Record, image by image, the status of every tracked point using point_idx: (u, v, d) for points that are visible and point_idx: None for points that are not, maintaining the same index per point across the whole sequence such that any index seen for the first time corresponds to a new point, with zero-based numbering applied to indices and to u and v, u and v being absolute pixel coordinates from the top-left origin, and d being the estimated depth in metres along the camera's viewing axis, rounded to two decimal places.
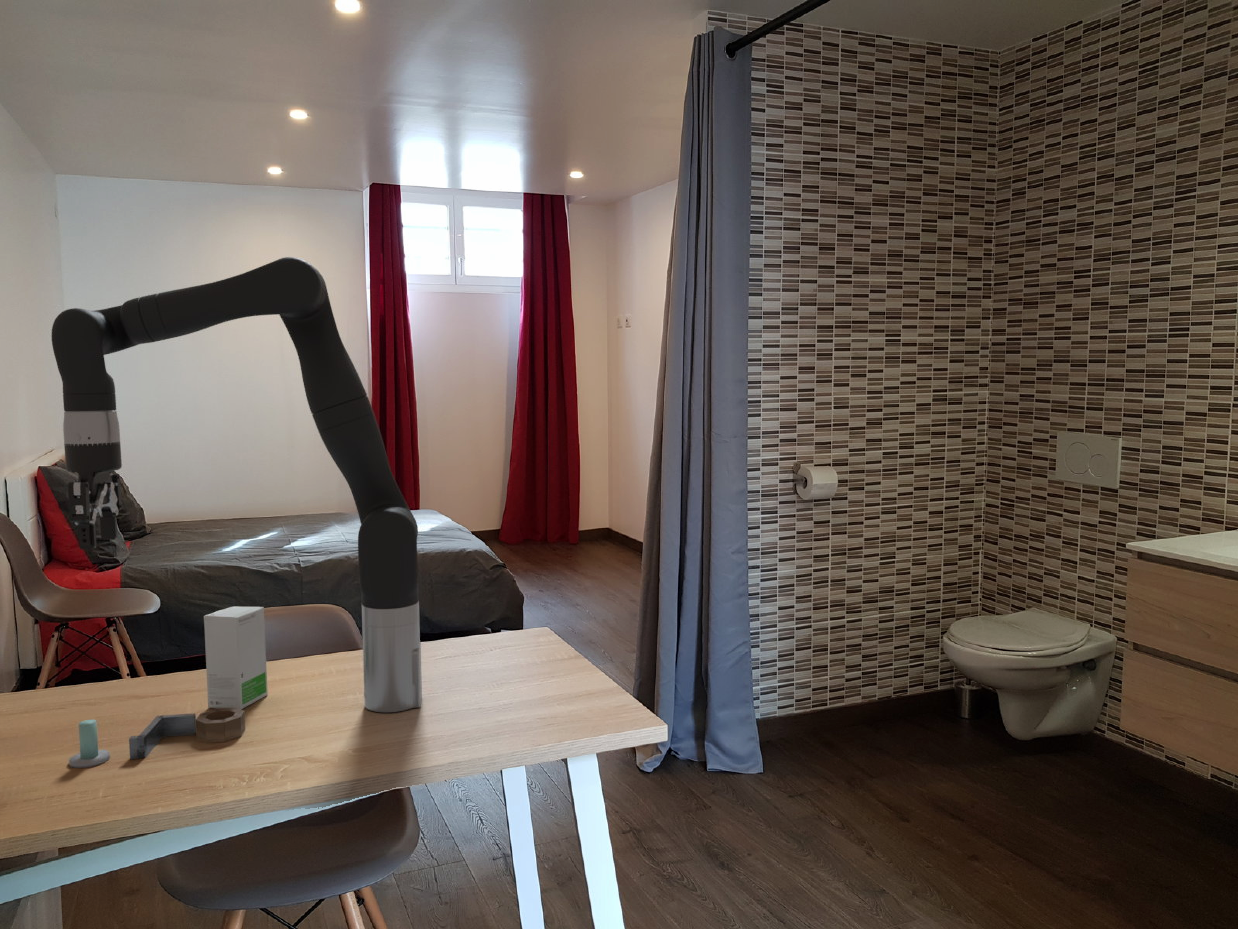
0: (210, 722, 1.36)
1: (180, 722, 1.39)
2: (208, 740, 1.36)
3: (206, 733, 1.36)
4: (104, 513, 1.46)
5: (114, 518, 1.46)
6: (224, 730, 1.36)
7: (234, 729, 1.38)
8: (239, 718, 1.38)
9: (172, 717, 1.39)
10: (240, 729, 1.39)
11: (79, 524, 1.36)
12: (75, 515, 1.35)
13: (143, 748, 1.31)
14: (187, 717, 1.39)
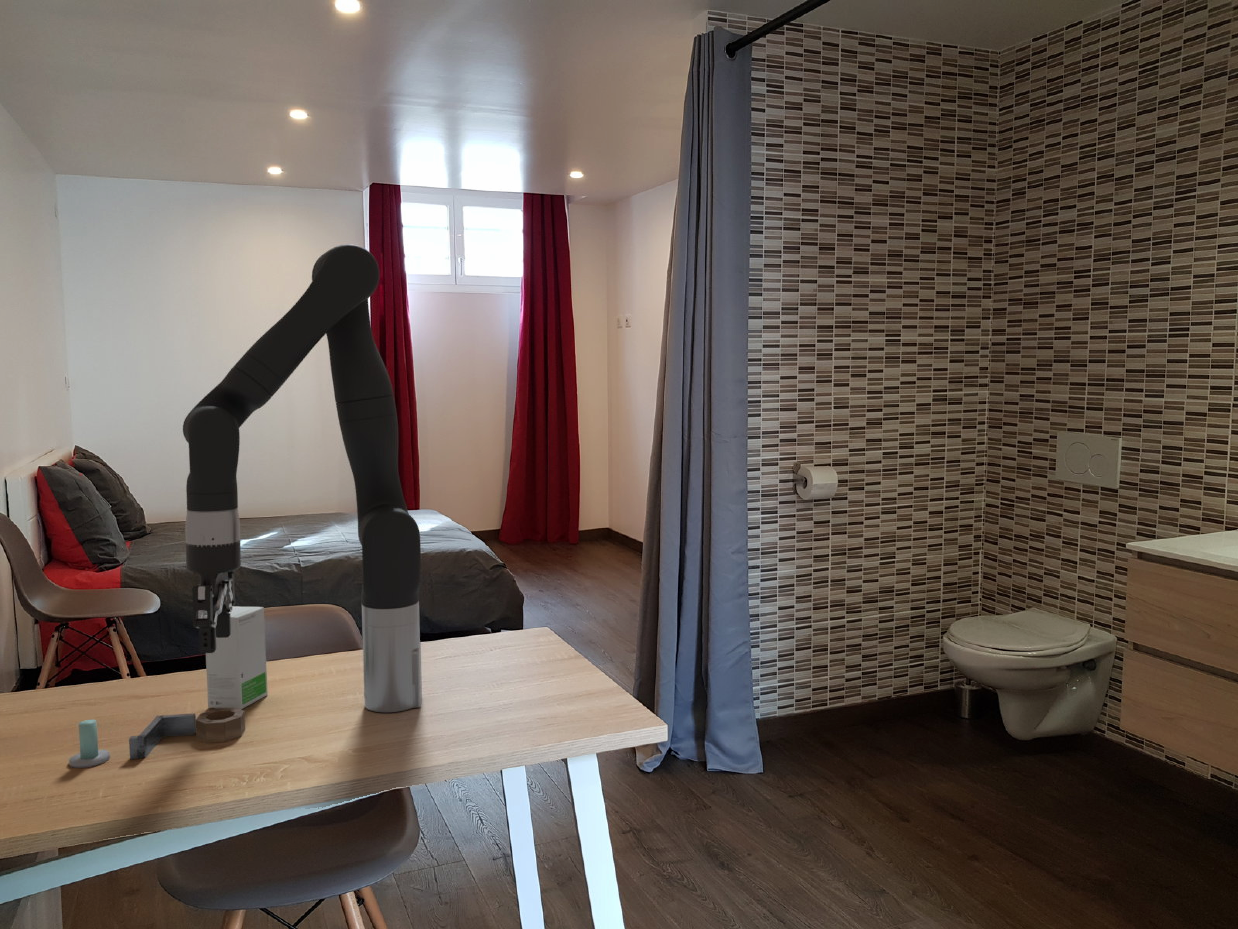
0: (210, 722, 1.36)
1: (180, 722, 1.39)
2: (208, 740, 1.36)
3: (206, 733, 1.36)
4: None
5: (228, 615, 1.42)
6: (224, 730, 1.36)
7: (234, 729, 1.38)
8: (239, 718, 1.38)
9: (172, 717, 1.39)
10: (240, 729, 1.39)
11: (201, 628, 1.32)
12: (198, 620, 1.31)
13: (143, 748, 1.31)
14: (187, 717, 1.39)
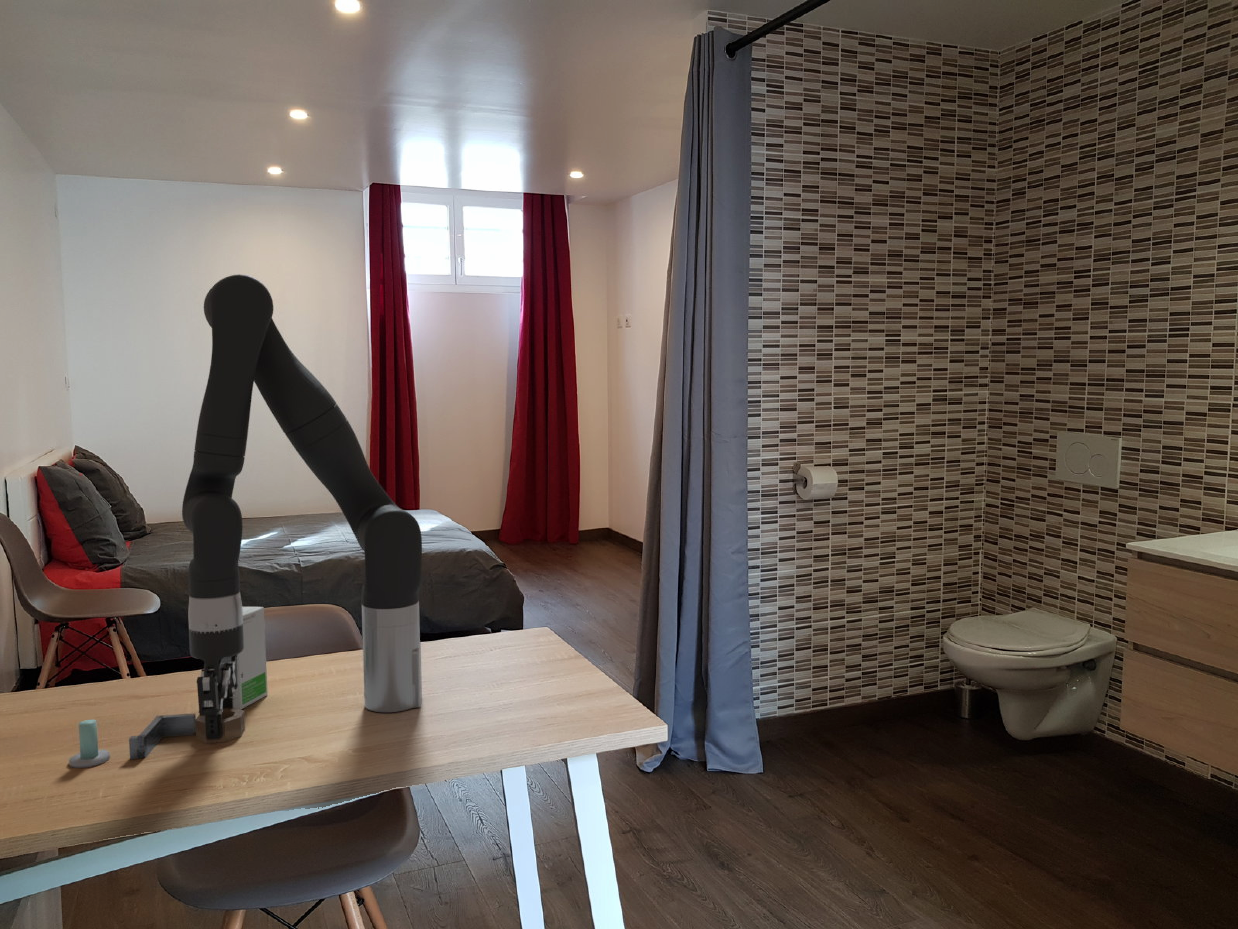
0: None
1: (180, 722, 1.39)
2: (208, 740, 1.36)
3: None
4: None
5: (231, 700, 1.42)
6: (224, 730, 1.36)
7: (234, 729, 1.38)
8: (239, 718, 1.38)
9: (172, 717, 1.39)
10: (240, 729, 1.39)
11: (207, 716, 1.34)
12: (205, 709, 1.33)
13: (143, 748, 1.31)
14: (187, 717, 1.39)
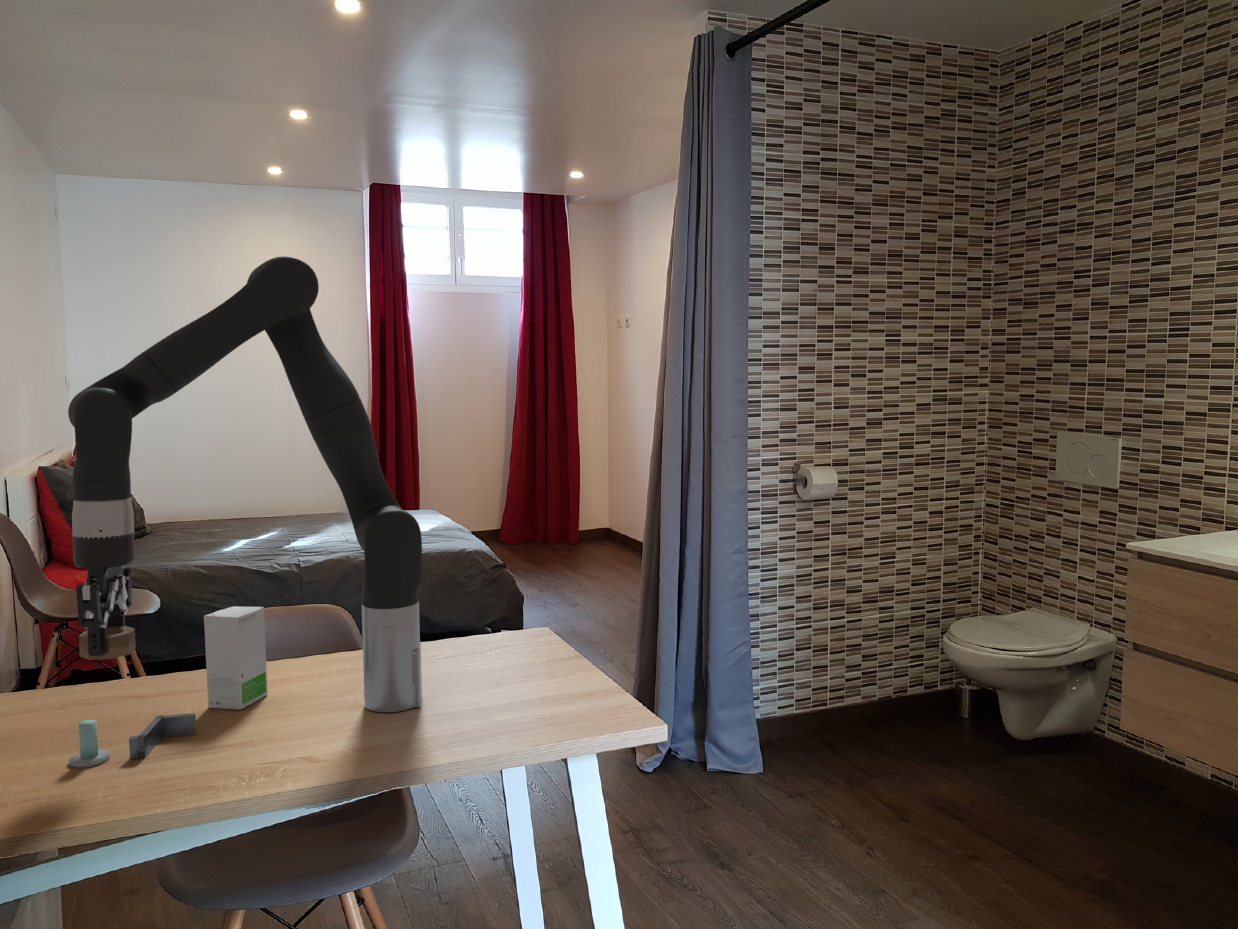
0: None
1: (180, 722, 1.39)
2: (91, 657, 1.25)
3: None
4: (111, 612, 1.31)
5: (122, 618, 1.32)
6: (109, 646, 1.26)
7: (121, 646, 1.27)
8: (127, 635, 1.28)
9: (172, 717, 1.39)
10: (128, 647, 1.28)
11: (89, 629, 1.24)
12: (85, 620, 1.22)
13: (143, 748, 1.31)
14: (187, 717, 1.39)
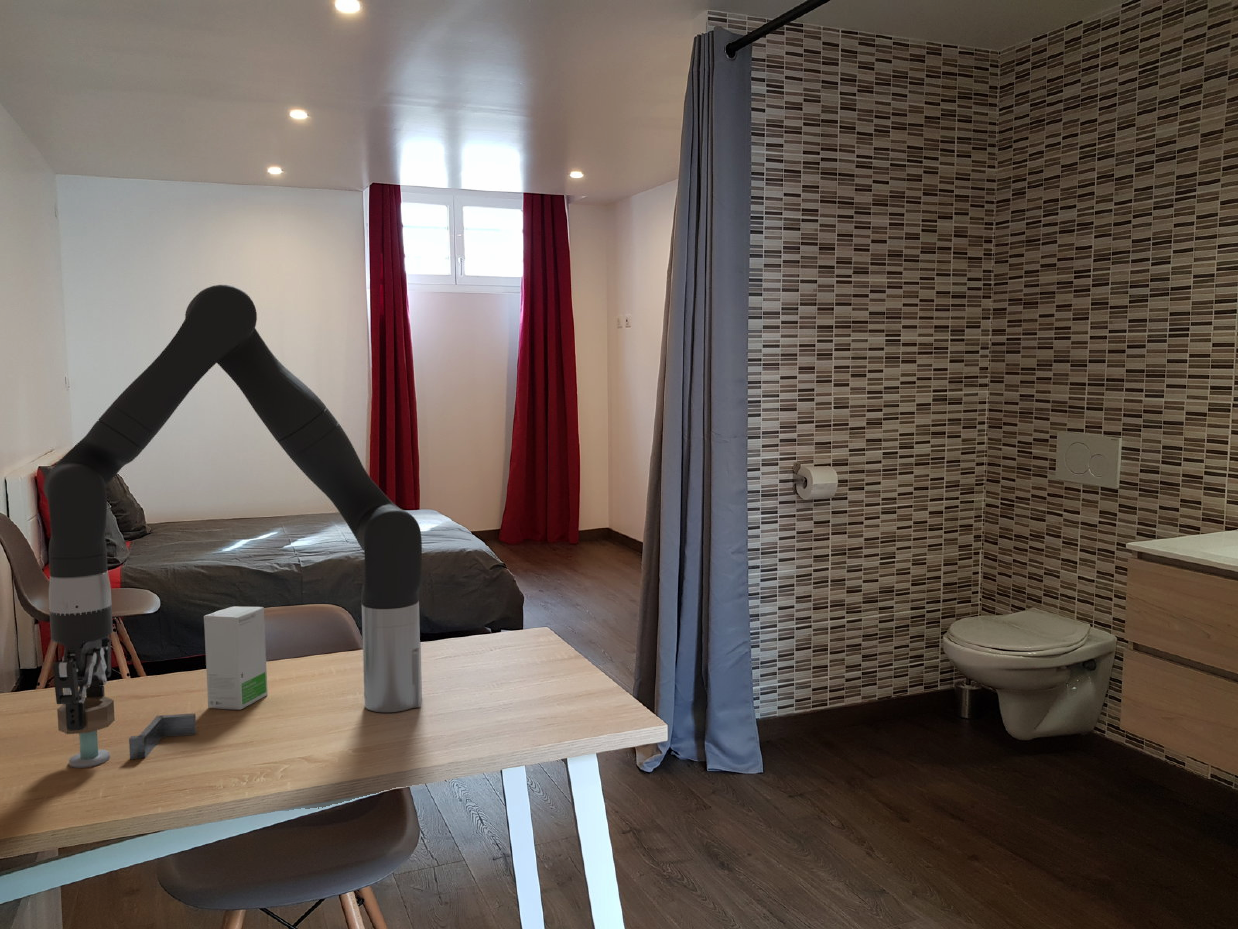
0: None
1: (180, 722, 1.39)
2: (69, 731, 1.26)
3: None
4: (91, 684, 1.32)
5: (102, 689, 1.32)
6: (87, 720, 1.26)
7: (99, 719, 1.28)
8: (105, 708, 1.28)
9: (172, 717, 1.39)
10: (106, 719, 1.29)
11: (67, 705, 1.24)
12: (63, 697, 1.23)
13: (143, 748, 1.31)
14: (187, 717, 1.39)
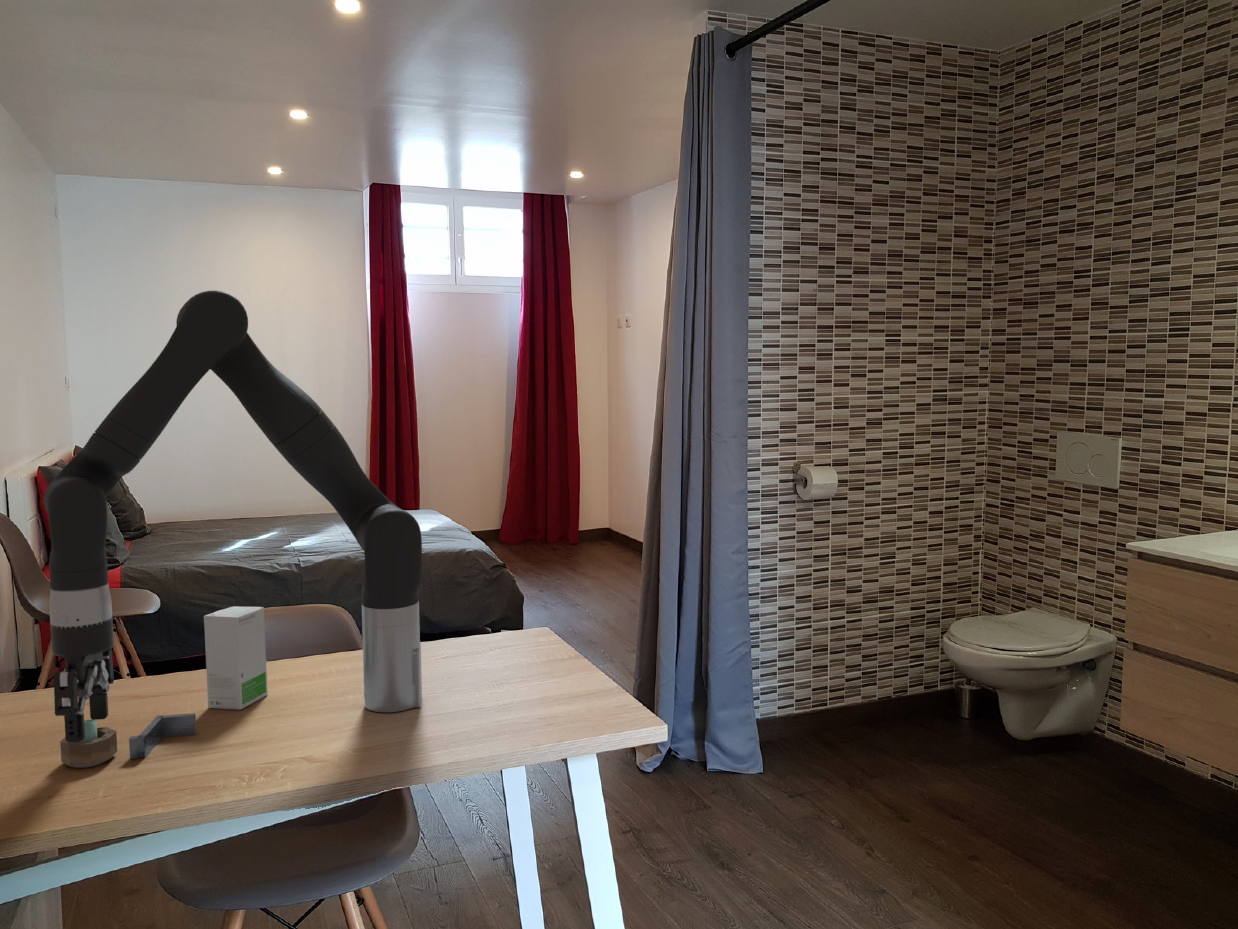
0: (75, 744, 1.27)
1: (180, 722, 1.39)
2: (72, 763, 1.26)
3: (70, 755, 1.26)
4: (94, 691, 1.33)
5: (105, 696, 1.33)
6: (90, 752, 1.27)
7: (102, 751, 1.28)
8: (108, 739, 1.29)
9: (172, 717, 1.39)
10: (109, 751, 1.29)
11: (66, 716, 1.24)
12: (61, 708, 1.22)
13: (143, 748, 1.31)
14: (187, 717, 1.39)
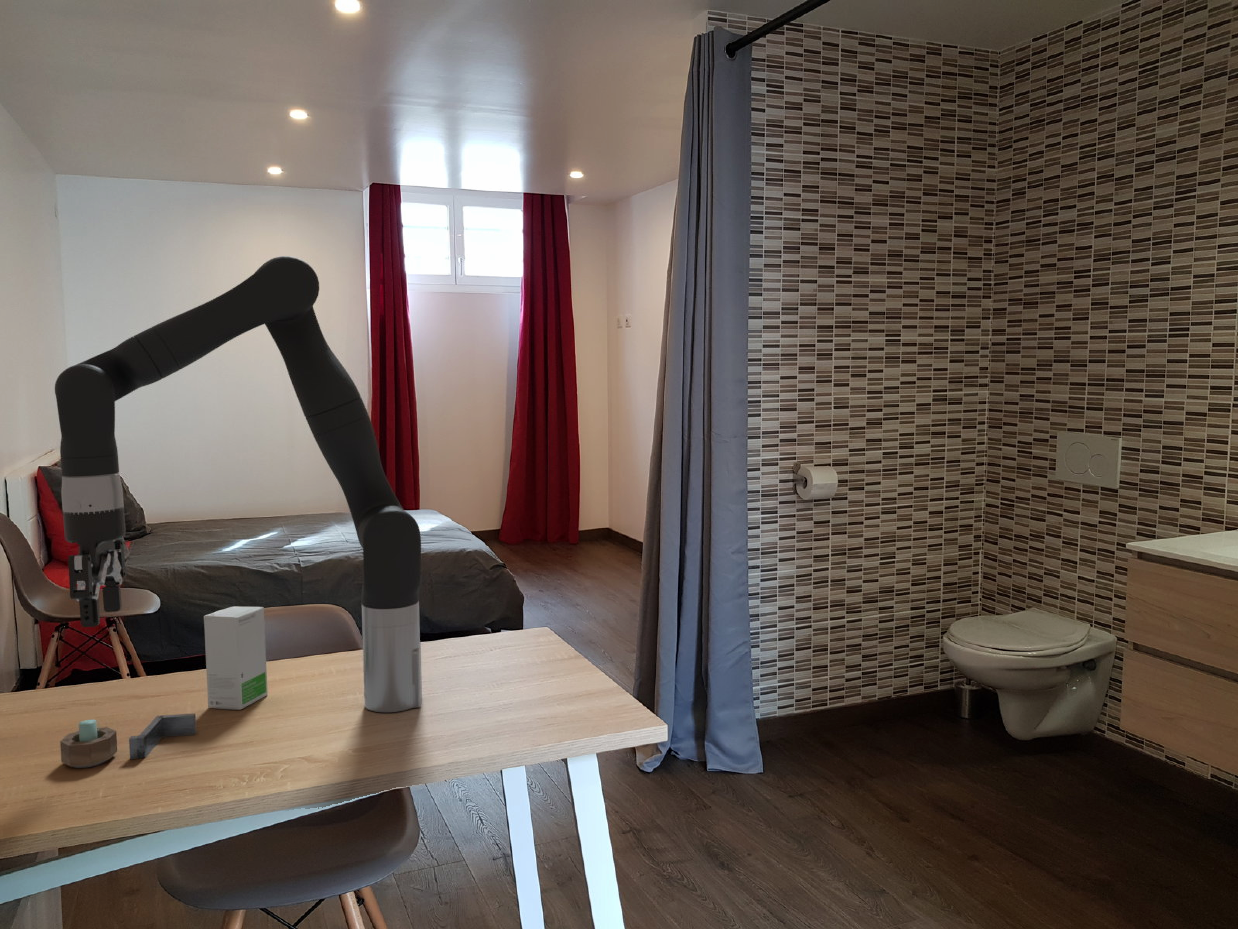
0: (75, 744, 1.27)
1: (180, 722, 1.39)
2: (72, 763, 1.26)
3: (70, 755, 1.26)
4: (107, 583, 1.34)
5: (118, 588, 1.34)
6: (90, 752, 1.27)
7: (102, 751, 1.28)
8: (108, 739, 1.29)
9: (172, 717, 1.39)
10: (109, 751, 1.29)
11: (81, 600, 1.24)
12: (76, 591, 1.23)
13: (143, 748, 1.31)
14: (187, 717, 1.39)
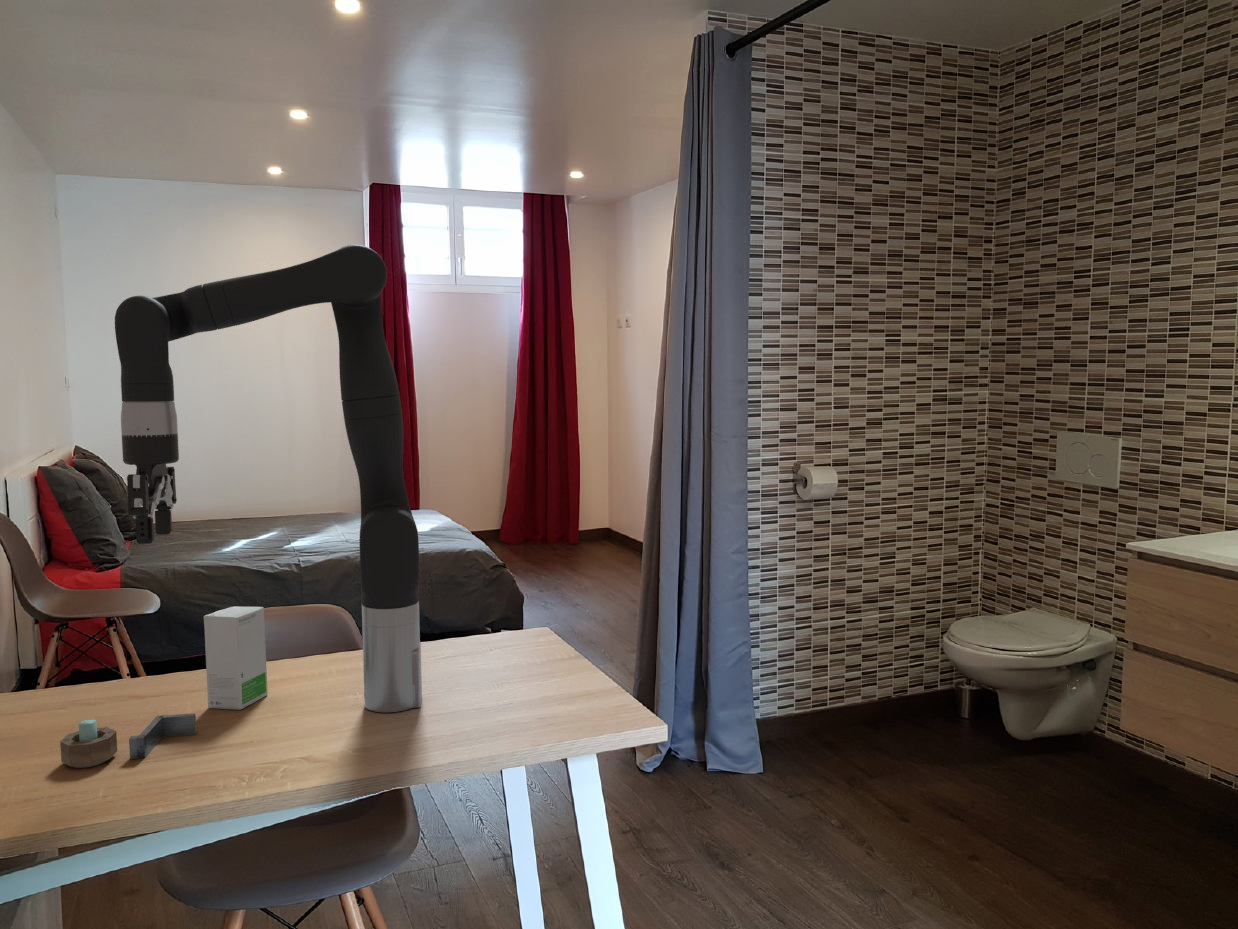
0: (75, 744, 1.27)
1: (180, 722, 1.39)
2: (72, 763, 1.26)
3: (70, 755, 1.26)
4: (159, 507, 1.42)
5: (169, 512, 1.42)
6: (90, 752, 1.27)
7: (102, 751, 1.28)
8: (108, 739, 1.29)
9: (172, 717, 1.39)
10: (109, 751, 1.29)
11: (137, 518, 1.32)
12: (134, 508, 1.31)
13: (143, 748, 1.31)
14: (187, 717, 1.39)
